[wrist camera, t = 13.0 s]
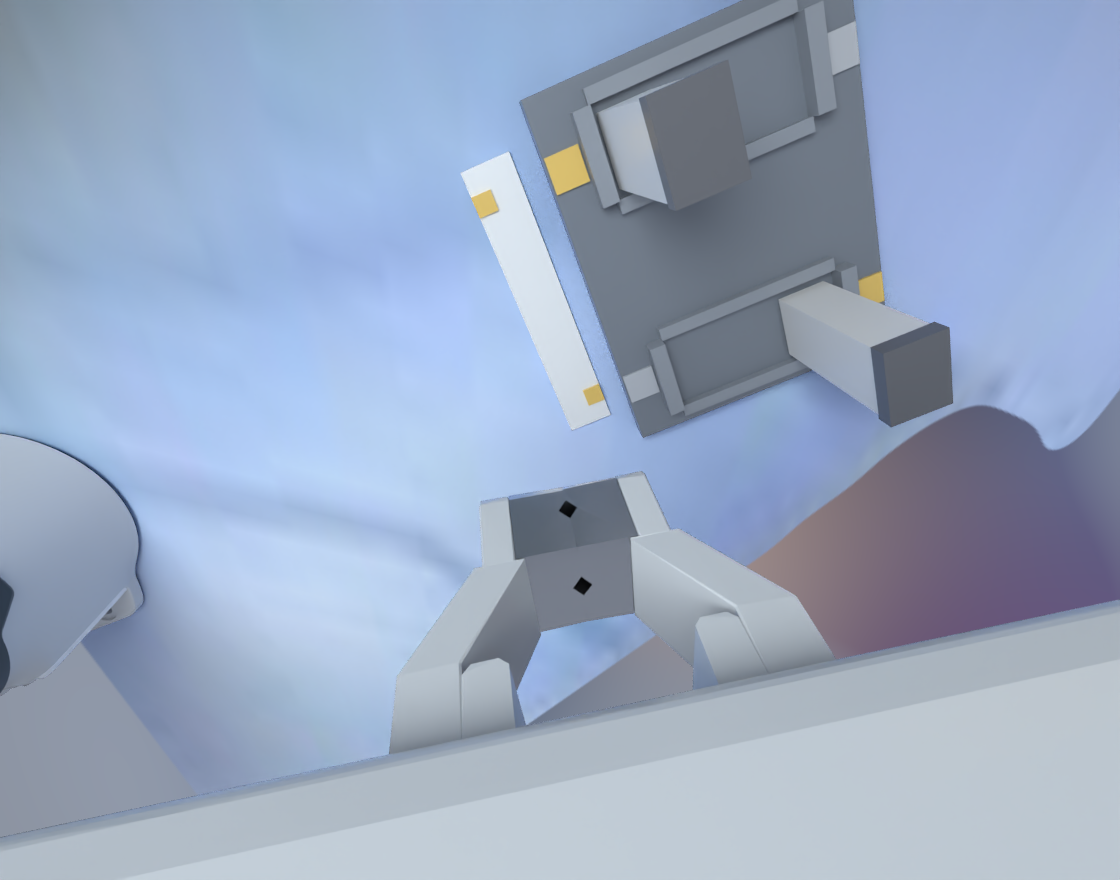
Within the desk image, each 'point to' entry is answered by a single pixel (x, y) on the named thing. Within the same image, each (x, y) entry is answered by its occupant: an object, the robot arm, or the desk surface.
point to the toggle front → (678, 139)
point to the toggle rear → (870, 351)
